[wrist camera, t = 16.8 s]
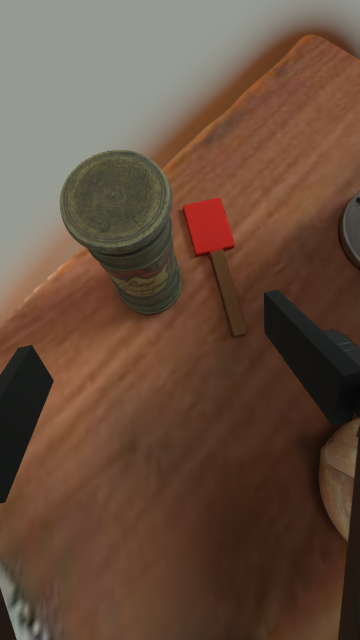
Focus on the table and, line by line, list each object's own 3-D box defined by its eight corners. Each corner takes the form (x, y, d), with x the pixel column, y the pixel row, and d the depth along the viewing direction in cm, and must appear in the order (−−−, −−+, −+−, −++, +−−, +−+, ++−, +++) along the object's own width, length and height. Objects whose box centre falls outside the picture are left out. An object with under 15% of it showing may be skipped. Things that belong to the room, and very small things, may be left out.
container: (112, 263, 37) (44, 160, 20) (173, 247, 38) (159, 132, 20) (125, 322, 35) (61, 266, 18) (189, 306, 35) (189, 234, 18)
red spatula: (259, 331, 34) (262, 329, 33) (218, 341, 34) (219, 339, 33) (219, 200, 39) (220, 194, 38) (183, 208, 39) (183, 203, 38)
